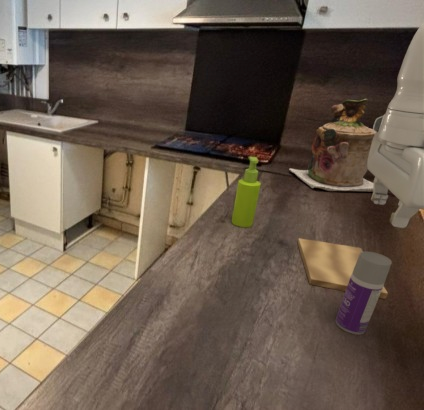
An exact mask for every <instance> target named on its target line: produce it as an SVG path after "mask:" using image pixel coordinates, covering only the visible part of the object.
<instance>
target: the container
mask: <svg viewBox="0 0 424 410" xmlns="http://www.w3.org/2000/svg"><path fill="white" fill-rule="evenodd" d="M392 264H393V262H392V260H391V259H390V258H389V257H387V256H385V255H383V254H381V253H378V252H375V251H367V250H366V251H363V252H361V253H360V255H359V257H358V260H357V262H356V265H355V267H354V270H353V272H352V275H351V277H350V280H349V283H348V286H347V289H346V291H344V295H343V298H342V300H341V302H340V303H341V304H340V305H339V309H338V312H337V315H336V318H335V324H336V326H337V327H338V328H339V329H341V330H343V331H344V332H346V333H349V334H352V335H364V334H365V332H366V330H367V328H368V325H369V324H370V320H371V318H372V316H373V313H374V310H375V308H376V306H377V303H378V300H379V299H380V298H379V296H380V293H381V291H382V288H383V286H384V287H385V282H386V280H387V277H388V274H389V272H390V269H391V266H392Z"/></svg>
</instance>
